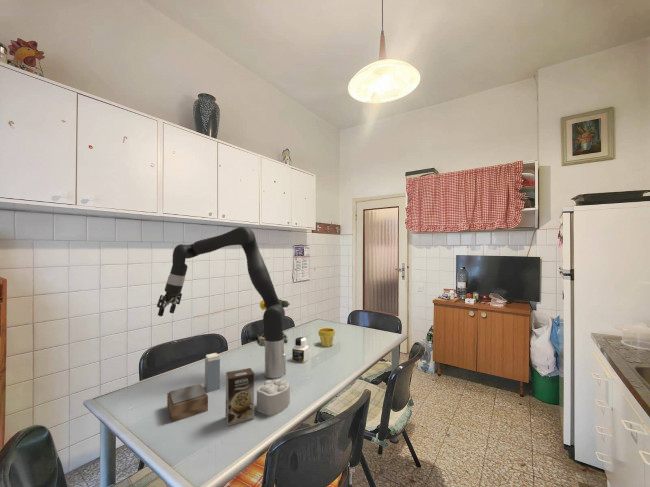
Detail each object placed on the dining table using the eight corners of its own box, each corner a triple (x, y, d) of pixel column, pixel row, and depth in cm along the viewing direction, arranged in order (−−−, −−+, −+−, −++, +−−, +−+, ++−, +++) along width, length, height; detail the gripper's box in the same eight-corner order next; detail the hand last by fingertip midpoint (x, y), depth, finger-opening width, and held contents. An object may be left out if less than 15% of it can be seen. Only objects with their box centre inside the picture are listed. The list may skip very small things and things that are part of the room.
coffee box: (227, 426, 96) (228, 378, 96) (225, 416, 101) (225, 371, 102) (254, 419, 100) (254, 373, 100) (250, 410, 106) (250, 366, 106)
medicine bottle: (292, 361, 153) (292, 339, 153) (298, 356, 159) (298, 335, 160) (303, 363, 150) (303, 340, 150) (309, 358, 157) (309, 336, 157)
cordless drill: (261, 347, 176) (261, 303, 177) (256, 338, 194) (256, 298, 195) (290, 343, 184) (289, 300, 185) (282, 335, 201) (282, 296, 202)
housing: (216, 384, 126) (216, 352, 127) (219, 389, 122) (219, 355, 123) (204, 388, 123) (205, 354, 124) (207, 392, 119) (207, 358, 120)
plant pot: (316, 343, 182) (316, 328, 183) (331, 341, 185) (331, 327, 186) (321, 348, 172) (321, 332, 173) (337, 346, 175) (336, 331, 176)
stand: (200, 397, 115) (200, 382, 115) (207, 410, 106) (207, 394, 106) (167, 407, 108) (167, 391, 108) (172, 422, 99) (172, 404, 99)
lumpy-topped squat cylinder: (253, 408, 107) (253, 385, 107) (278, 394, 117) (278, 373, 118) (271, 417, 101) (271, 393, 101) (296, 402, 111) (296, 380, 111)
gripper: (172, 286, 133) (162, 319, 133) (190, 284, 148) (181, 314, 147) (158, 281, 134) (148, 314, 134) (177, 280, 148) (168, 309, 148)
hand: (165, 314), depth 140 cm, fingers open, 8 cm apart
